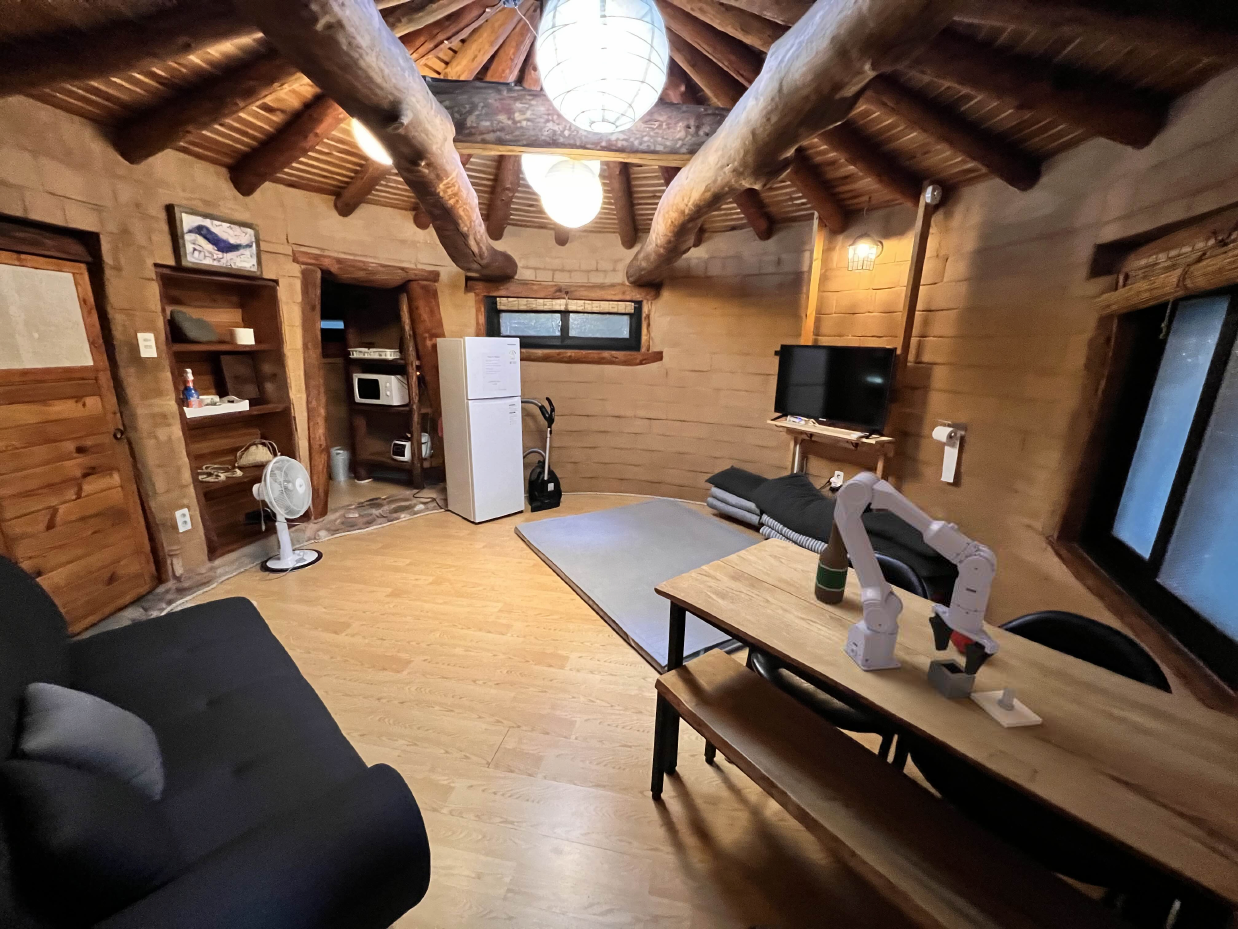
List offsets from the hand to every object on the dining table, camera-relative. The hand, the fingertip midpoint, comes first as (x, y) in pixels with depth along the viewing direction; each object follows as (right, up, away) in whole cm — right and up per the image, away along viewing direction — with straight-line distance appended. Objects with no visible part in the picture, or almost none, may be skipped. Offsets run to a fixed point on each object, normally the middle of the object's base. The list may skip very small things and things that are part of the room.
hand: (954, 661), depth 100 cm
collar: (0, -7, +2) cm, 7 cm away
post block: (+7, -8, -4) cm, 12 cm away
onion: (+12, -4, +14) cm, 19 cm away
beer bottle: (-11, +3, +36) cm, 38 cm away
